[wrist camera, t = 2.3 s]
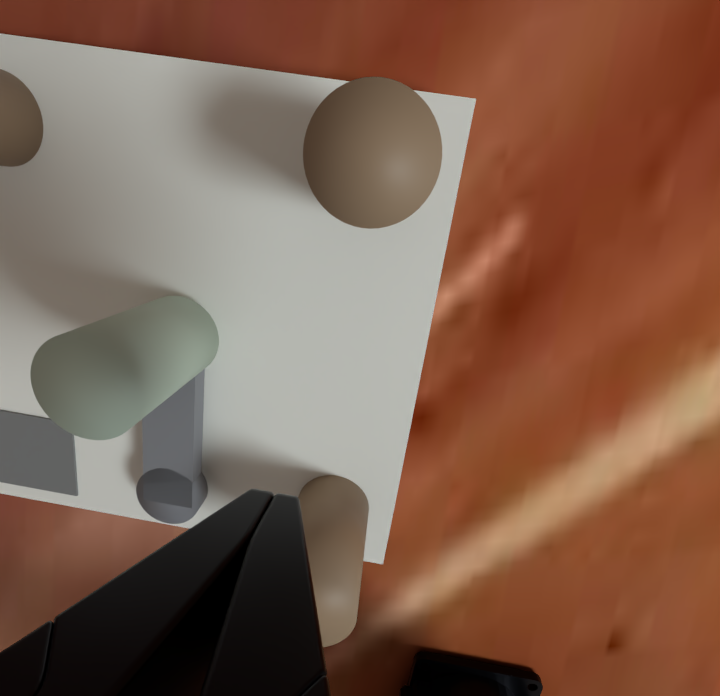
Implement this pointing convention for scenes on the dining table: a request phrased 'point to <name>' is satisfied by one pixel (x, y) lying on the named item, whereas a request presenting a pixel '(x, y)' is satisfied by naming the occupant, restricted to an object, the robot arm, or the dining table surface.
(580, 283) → the dining table surface
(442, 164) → the stool seat
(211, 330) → the hinged leg
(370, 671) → the dining table surface
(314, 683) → the robot arm
